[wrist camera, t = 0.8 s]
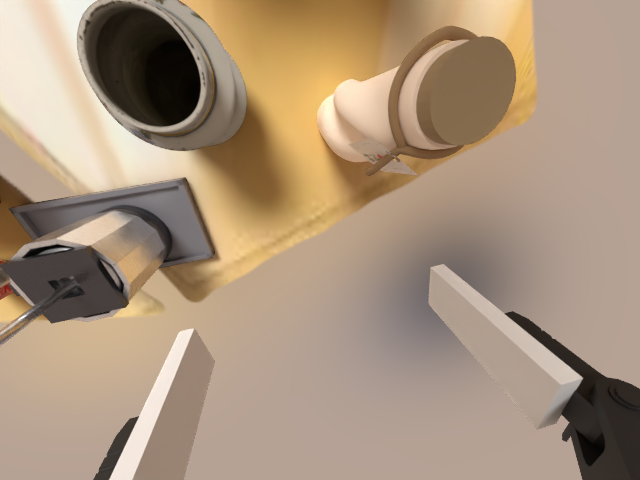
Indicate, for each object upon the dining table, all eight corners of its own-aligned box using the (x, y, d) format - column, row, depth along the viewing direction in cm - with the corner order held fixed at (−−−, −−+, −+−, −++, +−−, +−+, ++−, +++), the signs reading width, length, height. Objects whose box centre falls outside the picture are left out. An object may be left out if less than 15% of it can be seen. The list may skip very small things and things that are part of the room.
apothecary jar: (196, 157, 36) (130, 177, 20) (139, 69, 30) (-15, -2, 14) (266, 124, 35) (257, 117, 19) (221, 29, 30) (158, -89, 14)
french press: (62, 214, 35) (-54, 259, 23) (154, 198, 36) (91, 233, 24) (103, 275, 40) (27, 339, 28) (183, 259, 41) (143, 313, 29)
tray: (20, 205, 34) (8, 208, 33) (185, 177, 37) (181, 179, 35) (77, 280, 41) (69, 286, 39) (215, 252, 43) (212, 257, 41)
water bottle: (354, 164, 40) (480, 216, 15) (305, 149, 38) (360, 182, 13) (375, 99, 37) (587, 30, 12) (322, 78, 34) (447, -66, 9)
